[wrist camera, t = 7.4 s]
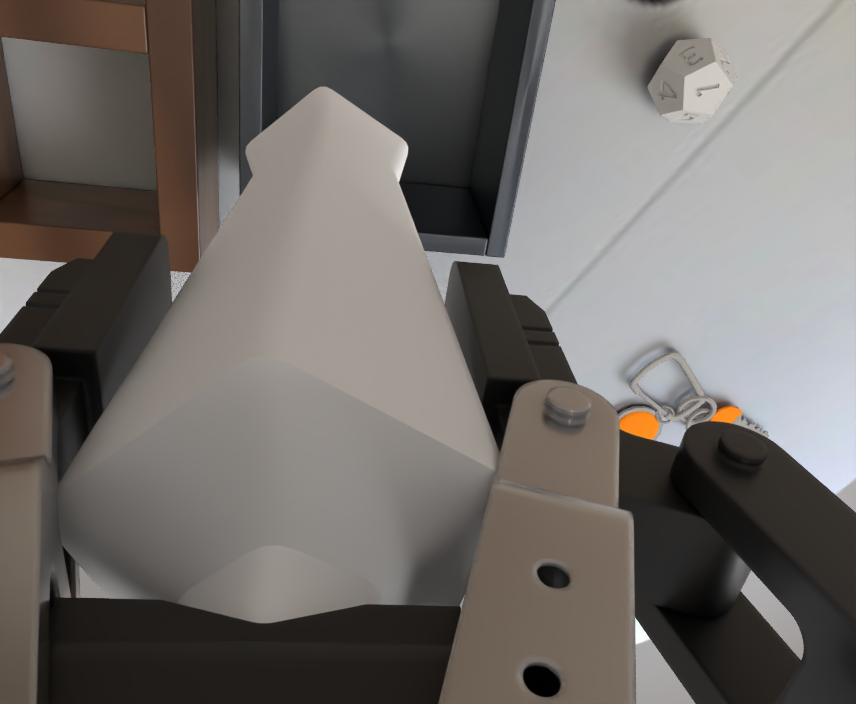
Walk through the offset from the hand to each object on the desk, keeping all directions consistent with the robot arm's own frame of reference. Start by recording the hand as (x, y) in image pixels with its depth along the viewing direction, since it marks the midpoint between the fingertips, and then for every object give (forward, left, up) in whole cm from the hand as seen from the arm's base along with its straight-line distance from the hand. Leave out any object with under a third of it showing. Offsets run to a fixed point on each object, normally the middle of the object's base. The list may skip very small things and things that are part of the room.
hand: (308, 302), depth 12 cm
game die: (+15, +1, -23) cm, 28 cm away
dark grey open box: (+2, +1, -23) cm, 23 cm away
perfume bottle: (0, 0, -7) cm, 7 cm away
